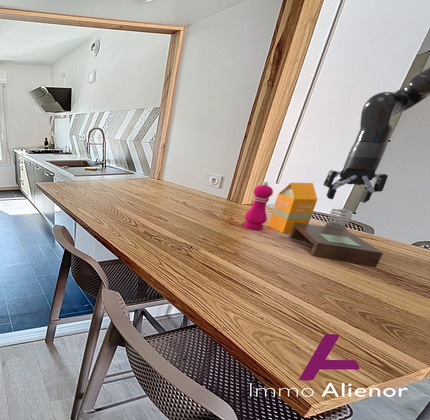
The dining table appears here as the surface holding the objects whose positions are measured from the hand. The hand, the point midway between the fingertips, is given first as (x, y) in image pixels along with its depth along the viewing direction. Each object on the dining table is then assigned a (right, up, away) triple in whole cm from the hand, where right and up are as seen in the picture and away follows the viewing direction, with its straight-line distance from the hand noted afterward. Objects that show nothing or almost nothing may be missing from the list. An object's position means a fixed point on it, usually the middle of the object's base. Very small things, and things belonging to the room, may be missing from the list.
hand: (346, 200), depth 89 cm
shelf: (-13, -18, -5) cm, 23 cm away
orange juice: (-10, -12, +12) cm, 20 cm away
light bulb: (0, -15, +5) cm, 16 cm away
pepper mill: (-23, -11, +14) cm, 29 cm away
